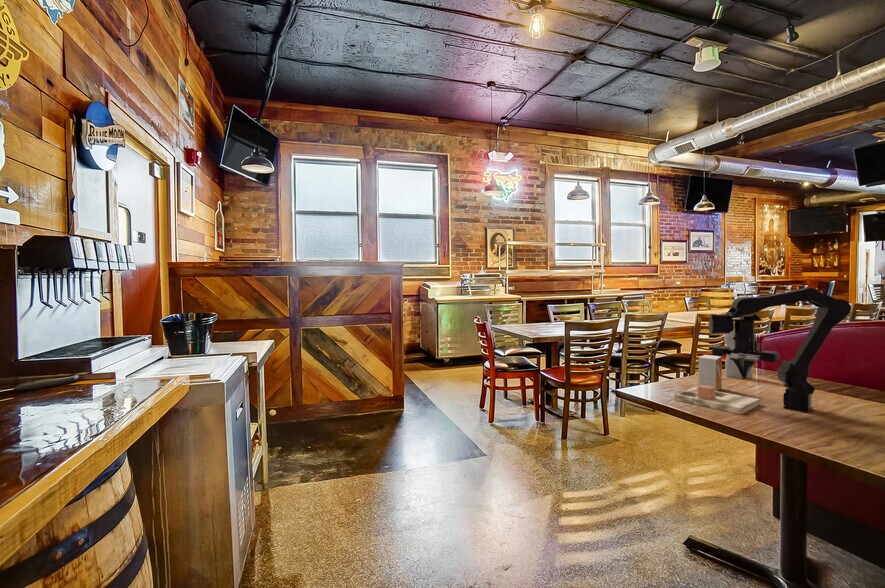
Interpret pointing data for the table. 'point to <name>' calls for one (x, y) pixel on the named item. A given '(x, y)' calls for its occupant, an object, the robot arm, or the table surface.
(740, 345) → the robot arm
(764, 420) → the table surface
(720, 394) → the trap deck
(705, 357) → the small box
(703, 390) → the block
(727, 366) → the grey upright slab
